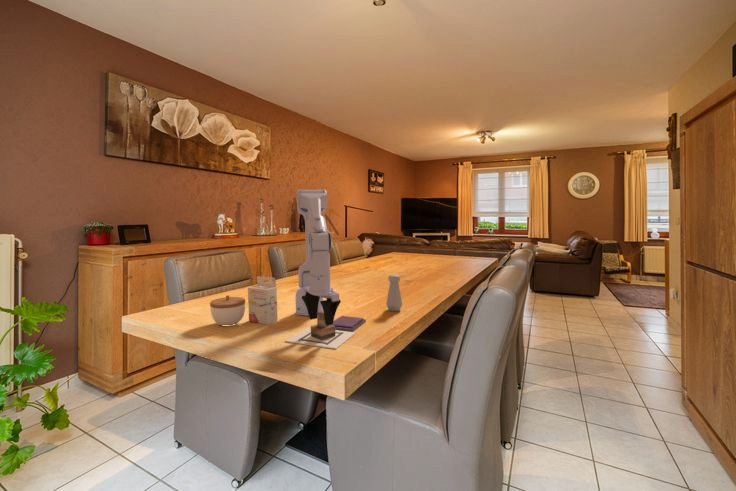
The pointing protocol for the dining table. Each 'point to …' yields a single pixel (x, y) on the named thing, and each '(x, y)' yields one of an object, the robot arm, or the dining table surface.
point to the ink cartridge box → (263, 301)
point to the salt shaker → (394, 294)
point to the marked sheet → (332, 343)
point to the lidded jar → (228, 310)
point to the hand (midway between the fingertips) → (321, 321)
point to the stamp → (322, 328)
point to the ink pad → (348, 323)
